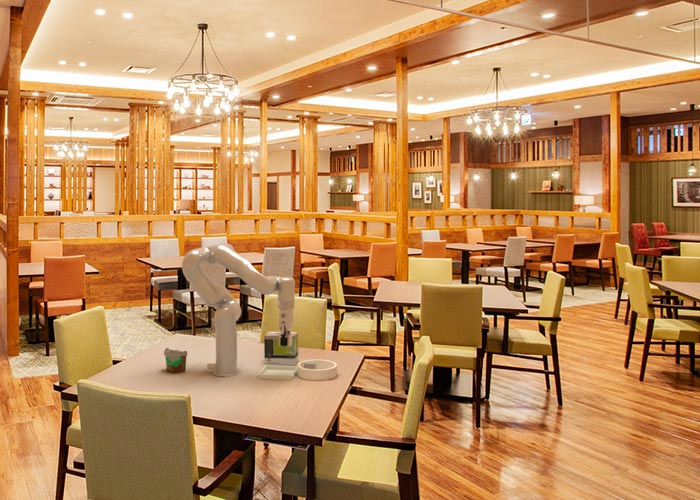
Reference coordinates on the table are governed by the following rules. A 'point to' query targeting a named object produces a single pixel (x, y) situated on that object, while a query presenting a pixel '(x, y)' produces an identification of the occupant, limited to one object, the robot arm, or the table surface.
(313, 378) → the bowl
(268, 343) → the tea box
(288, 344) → the sandstone cube
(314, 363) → the slate cube
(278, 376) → the tray
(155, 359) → the table surface
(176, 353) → the food container
